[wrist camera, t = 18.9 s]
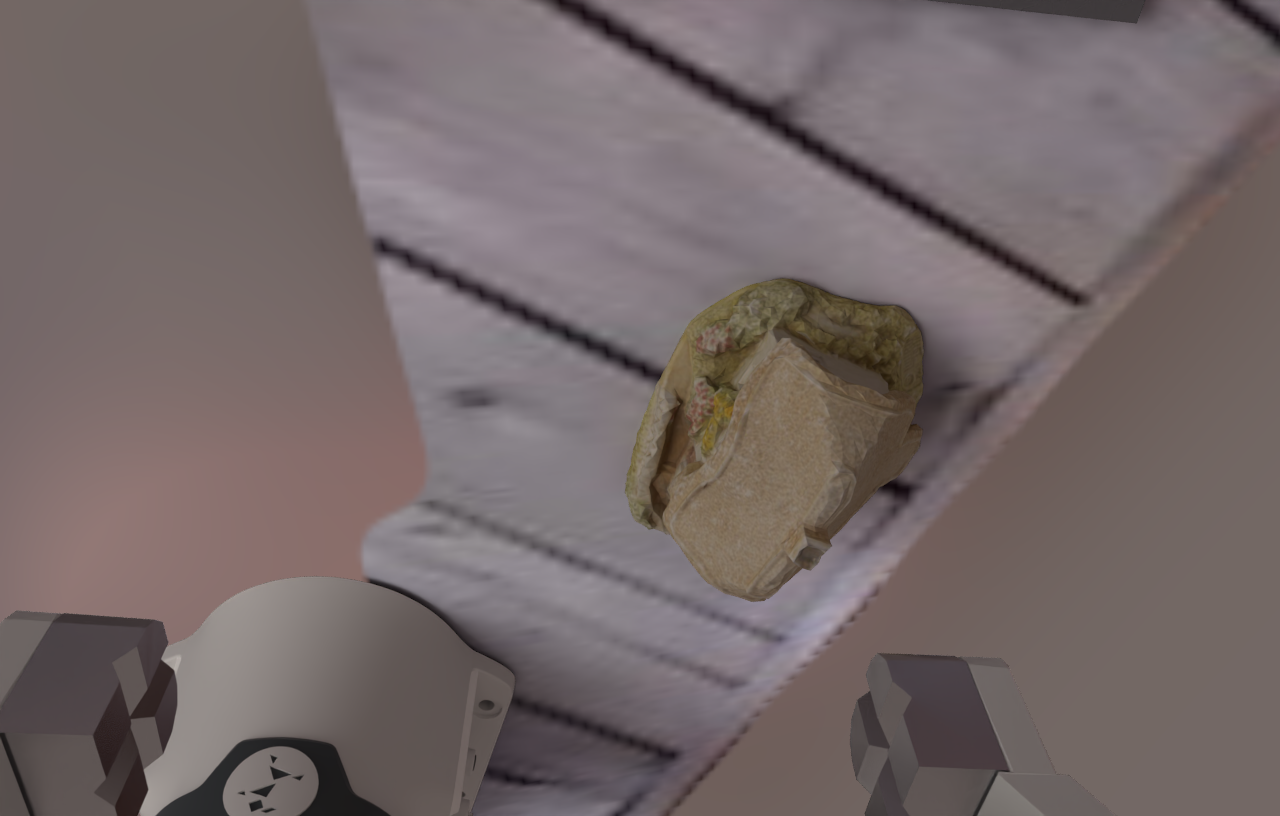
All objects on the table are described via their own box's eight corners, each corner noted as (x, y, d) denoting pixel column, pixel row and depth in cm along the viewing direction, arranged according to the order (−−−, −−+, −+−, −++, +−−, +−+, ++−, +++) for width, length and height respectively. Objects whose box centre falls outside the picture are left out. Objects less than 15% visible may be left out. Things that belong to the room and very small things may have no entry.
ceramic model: (750, 224, 41) (790, 355, 32) (966, 340, 44) (1052, 485, 36) (584, 470, 47) (582, 631, 39) (783, 554, 51) (820, 718, 42)
